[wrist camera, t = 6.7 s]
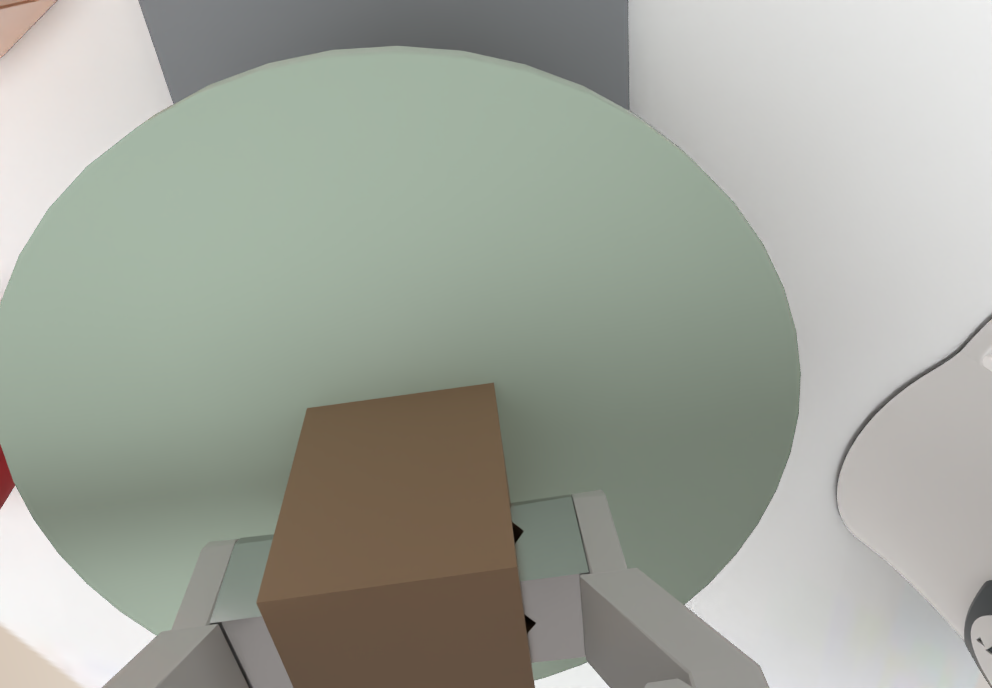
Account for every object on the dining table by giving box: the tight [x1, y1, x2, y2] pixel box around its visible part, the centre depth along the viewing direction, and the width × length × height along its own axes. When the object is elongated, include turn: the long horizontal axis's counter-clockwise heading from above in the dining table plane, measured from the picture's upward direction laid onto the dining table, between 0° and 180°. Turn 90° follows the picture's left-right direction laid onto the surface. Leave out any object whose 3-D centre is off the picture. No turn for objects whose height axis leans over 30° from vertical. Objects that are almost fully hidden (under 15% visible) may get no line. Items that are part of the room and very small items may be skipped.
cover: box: [0, 46, 801, 688], centre depth 12 cm, size 14×14×5 cm
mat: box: [138, 0, 629, 111], centre depth 27 cm, size 16×16×1 cm
